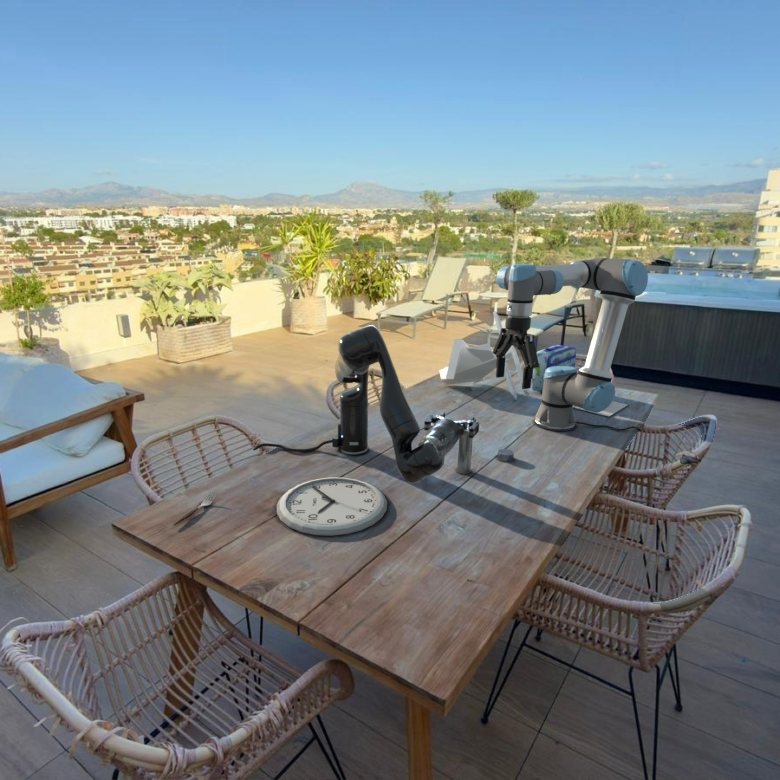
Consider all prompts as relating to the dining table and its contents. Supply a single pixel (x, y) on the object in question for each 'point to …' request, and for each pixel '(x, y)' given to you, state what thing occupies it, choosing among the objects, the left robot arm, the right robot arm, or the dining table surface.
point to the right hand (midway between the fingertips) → (512, 382)
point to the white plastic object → (478, 363)
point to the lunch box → (552, 362)
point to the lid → (505, 455)
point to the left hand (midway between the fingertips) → (458, 417)
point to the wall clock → (331, 506)
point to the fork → (204, 503)
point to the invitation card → (609, 409)
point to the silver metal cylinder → (464, 454)
